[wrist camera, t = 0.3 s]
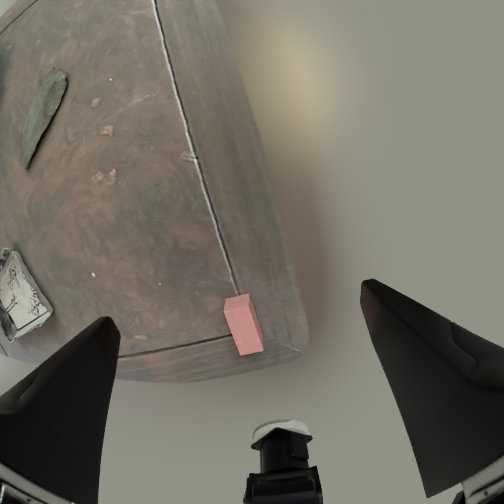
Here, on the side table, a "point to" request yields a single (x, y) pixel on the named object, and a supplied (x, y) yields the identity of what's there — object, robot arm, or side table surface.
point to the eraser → (244, 324)
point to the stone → (42, 110)
